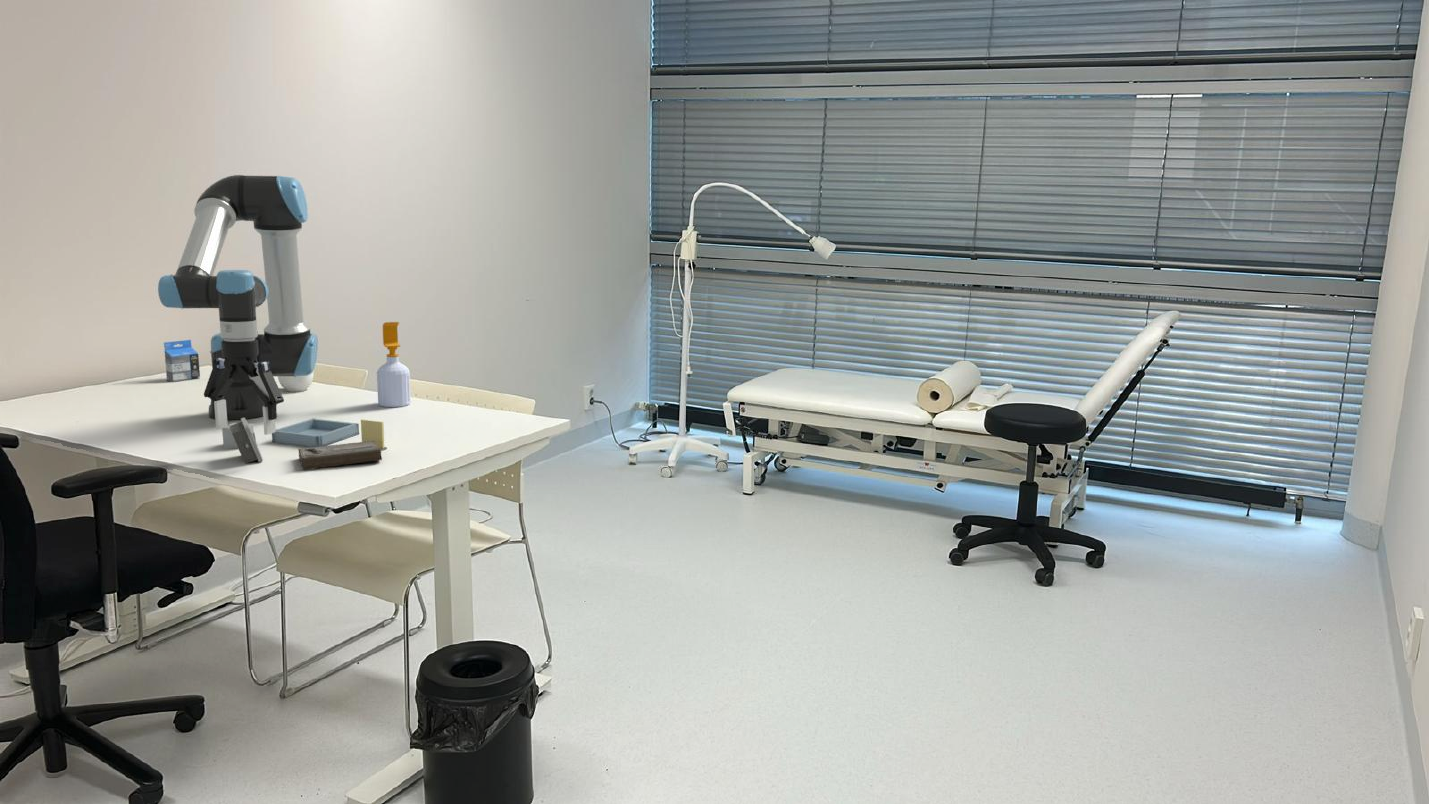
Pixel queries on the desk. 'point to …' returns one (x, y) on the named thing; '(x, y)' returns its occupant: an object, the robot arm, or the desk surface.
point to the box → (339, 454)
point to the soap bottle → (393, 373)
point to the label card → (373, 432)
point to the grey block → (231, 436)
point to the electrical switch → (246, 441)
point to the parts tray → (315, 432)
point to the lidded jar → (296, 382)
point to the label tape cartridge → (181, 361)
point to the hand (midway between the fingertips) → (245, 430)
